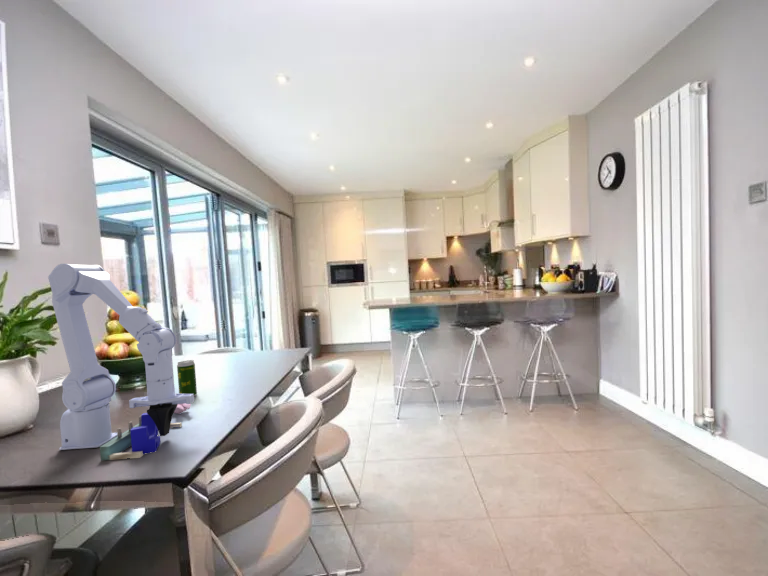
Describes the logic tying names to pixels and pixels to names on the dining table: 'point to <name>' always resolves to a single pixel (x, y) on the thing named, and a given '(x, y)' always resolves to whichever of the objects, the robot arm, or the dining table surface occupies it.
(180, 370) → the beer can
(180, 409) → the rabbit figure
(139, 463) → the dining table surface
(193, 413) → the dining table surface
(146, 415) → the cable clip
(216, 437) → the dining table surface
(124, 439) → the pin bay
